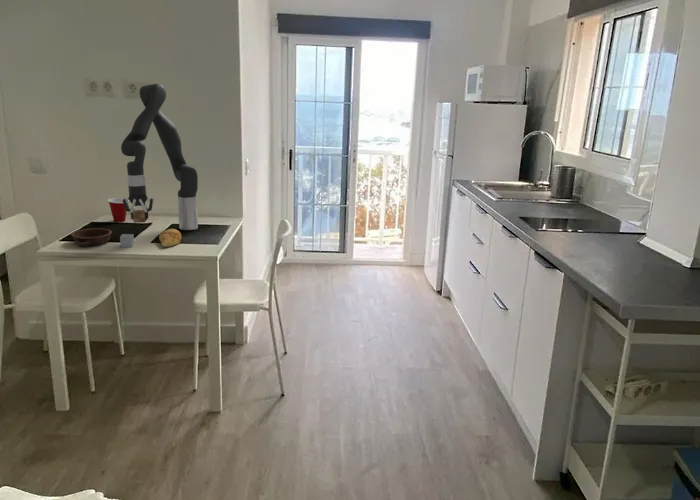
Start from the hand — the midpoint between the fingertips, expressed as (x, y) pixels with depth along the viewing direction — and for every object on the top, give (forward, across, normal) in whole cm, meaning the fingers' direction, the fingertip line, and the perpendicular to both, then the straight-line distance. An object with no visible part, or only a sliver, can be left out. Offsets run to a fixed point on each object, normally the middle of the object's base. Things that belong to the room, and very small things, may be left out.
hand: (139, 219), depth 264 cm
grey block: (+11, +5, +8) cm, 14 cm away
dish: (+11, +22, 0) cm, 24 cm away
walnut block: (+1, 0, 0) cm, 1 cm away
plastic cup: (+11, +18, -44) cm, 49 cm away
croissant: (+11, -13, +3) cm, 18 cm away
